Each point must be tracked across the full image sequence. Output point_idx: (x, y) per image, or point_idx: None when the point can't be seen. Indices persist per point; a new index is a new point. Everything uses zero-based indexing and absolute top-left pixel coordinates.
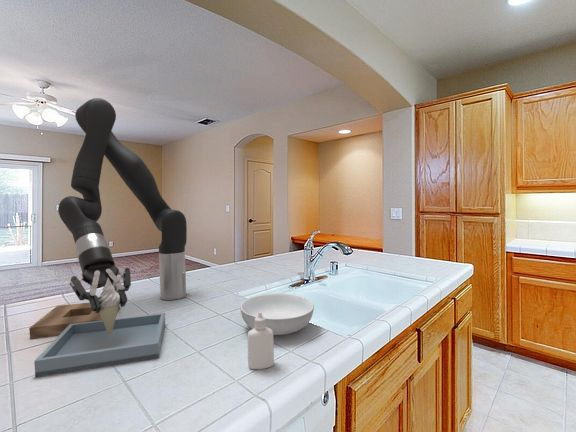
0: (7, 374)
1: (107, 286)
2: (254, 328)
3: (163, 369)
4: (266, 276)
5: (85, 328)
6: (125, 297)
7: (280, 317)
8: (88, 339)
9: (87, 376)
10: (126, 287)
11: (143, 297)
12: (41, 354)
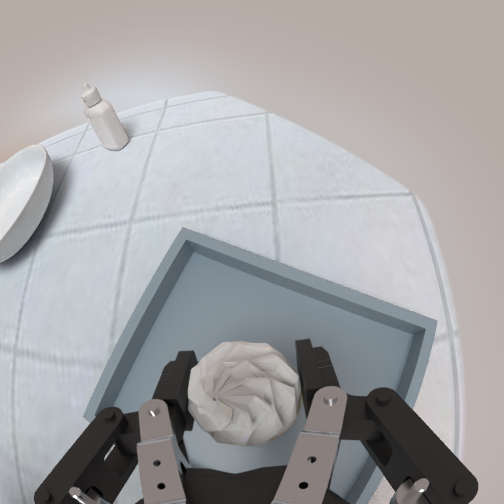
0: (460, 377)
1: (240, 379)
2: (96, 106)
3: (206, 199)
4: None
5: None
6: (166, 376)
7: (2, 234)
8: None
9: (332, 264)
10: (129, 416)
11: None
12: (428, 351)
